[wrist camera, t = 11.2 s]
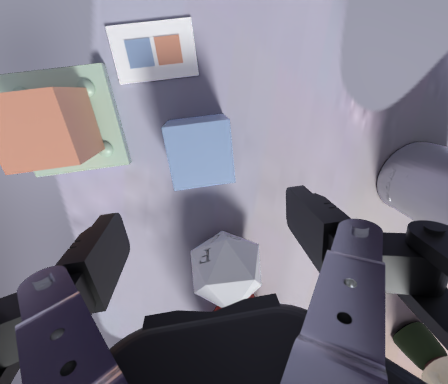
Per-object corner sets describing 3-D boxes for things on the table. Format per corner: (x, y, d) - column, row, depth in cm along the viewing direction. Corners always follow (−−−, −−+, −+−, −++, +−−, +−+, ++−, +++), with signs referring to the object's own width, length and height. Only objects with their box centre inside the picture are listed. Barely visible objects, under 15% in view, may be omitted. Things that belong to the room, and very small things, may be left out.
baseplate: (104, 63, 24) (100, 62, 23) (131, 162, 28) (128, 164, 27) (-2, 76, 23) (-12, 75, 22) (41, 174, 27) (35, 177, 26)
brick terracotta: (85, 87, 23) (51, 86, 18) (105, 148, 26) (80, 164, 20) (21, 95, 23) (-34, 96, 17) (47, 156, 25) (5, 175, 20)
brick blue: (222, 113, 27) (229, 119, 21) (228, 165, 29) (235, 182, 24) (168, 120, 26) (161, 127, 21) (178, 171, 29) (174, 191, 23)
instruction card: (191, 17, 23) (190, 16, 23) (199, 75, 25) (199, 75, 25) (105, 26, 23) (104, 25, 22) (120, 84, 24) (119, 84, 24)
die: (256, 217, 33) (224, 233, 24) (281, 280, 32) (256, 321, 23) (207, 234, 37) (163, 254, 28) (228, 291, 36) (189, 331, 27)
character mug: (373, 336, 45) (438, 425, 33) (400, 310, 43) (478, 394, 31) (412, 349, 48) (484, 435, 36) (438, 325, 46) (524, 408, 34)
